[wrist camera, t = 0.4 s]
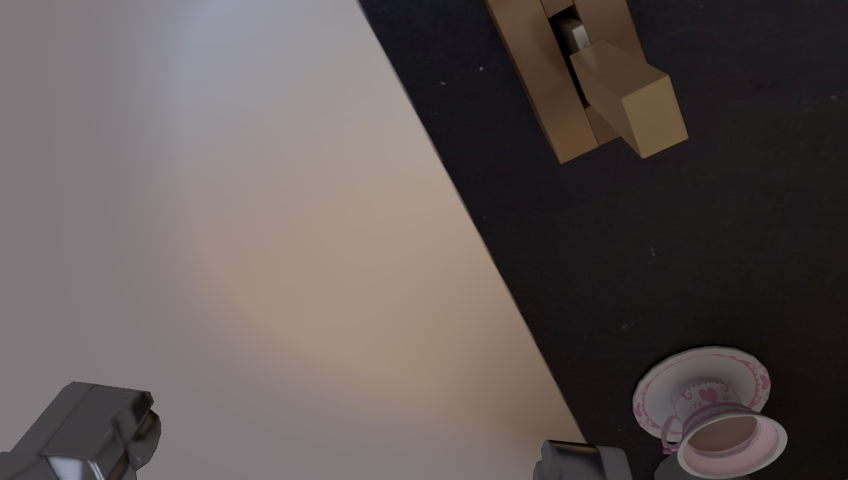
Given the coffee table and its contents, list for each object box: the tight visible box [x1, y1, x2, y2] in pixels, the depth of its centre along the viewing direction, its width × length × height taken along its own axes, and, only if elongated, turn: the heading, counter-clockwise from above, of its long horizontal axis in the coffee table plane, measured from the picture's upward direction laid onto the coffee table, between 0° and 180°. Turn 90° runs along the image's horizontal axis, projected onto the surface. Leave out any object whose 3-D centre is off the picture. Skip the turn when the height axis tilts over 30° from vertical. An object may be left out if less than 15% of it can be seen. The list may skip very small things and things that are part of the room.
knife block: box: [483, 0, 647, 164], centre depth 30 cm, size 10×6×7 cm, turn 29°
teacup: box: [633, 346, 787, 479], centre depth 45 cm, size 12×12×6 cm
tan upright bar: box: [548, 12, 688, 158], centre depth 25 cm, size 4×2×18 cm, turn 29°
